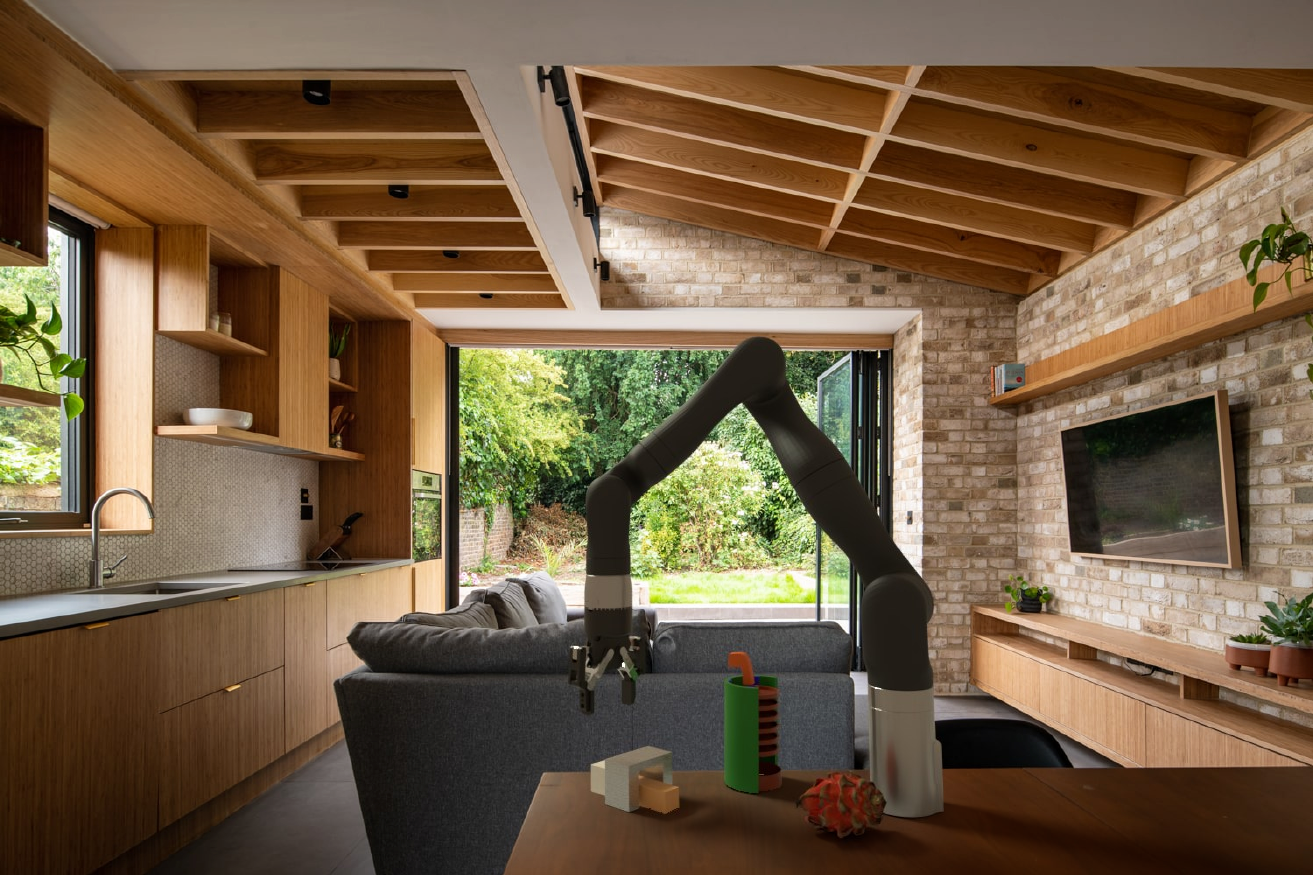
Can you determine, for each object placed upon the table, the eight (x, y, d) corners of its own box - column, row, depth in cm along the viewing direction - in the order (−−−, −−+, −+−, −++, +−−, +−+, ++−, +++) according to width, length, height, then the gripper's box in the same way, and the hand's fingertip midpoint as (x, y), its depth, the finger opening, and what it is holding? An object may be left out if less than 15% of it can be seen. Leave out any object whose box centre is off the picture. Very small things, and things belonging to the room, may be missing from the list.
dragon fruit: (896, 850, 111) (803, 858, 113) (884, 793, 118) (798, 801, 120) (889, 809, 107) (794, 818, 109) (878, 753, 114) (789, 762, 116)
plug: (681, 807, 123) (681, 779, 123) (662, 814, 120) (662, 785, 121) (609, 784, 133) (609, 758, 134) (590, 791, 130) (590, 764, 131)
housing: (672, 795, 128) (672, 751, 128) (629, 812, 121) (628, 765, 122) (648, 788, 131) (648, 745, 132) (604, 803, 125) (604, 758, 125)
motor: (779, 795, 128) (777, 659, 129) (720, 792, 129) (718, 658, 131) (783, 774, 138) (781, 648, 139) (728, 771, 139) (726, 647, 141)
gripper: (624, 597, 141) (624, 697, 140) (557, 605, 131) (557, 713, 129) (657, 601, 136) (657, 705, 134) (590, 609, 125) (590, 722, 124)
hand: (608, 709), depth 132 cm, fingers open, 8 cm apart
